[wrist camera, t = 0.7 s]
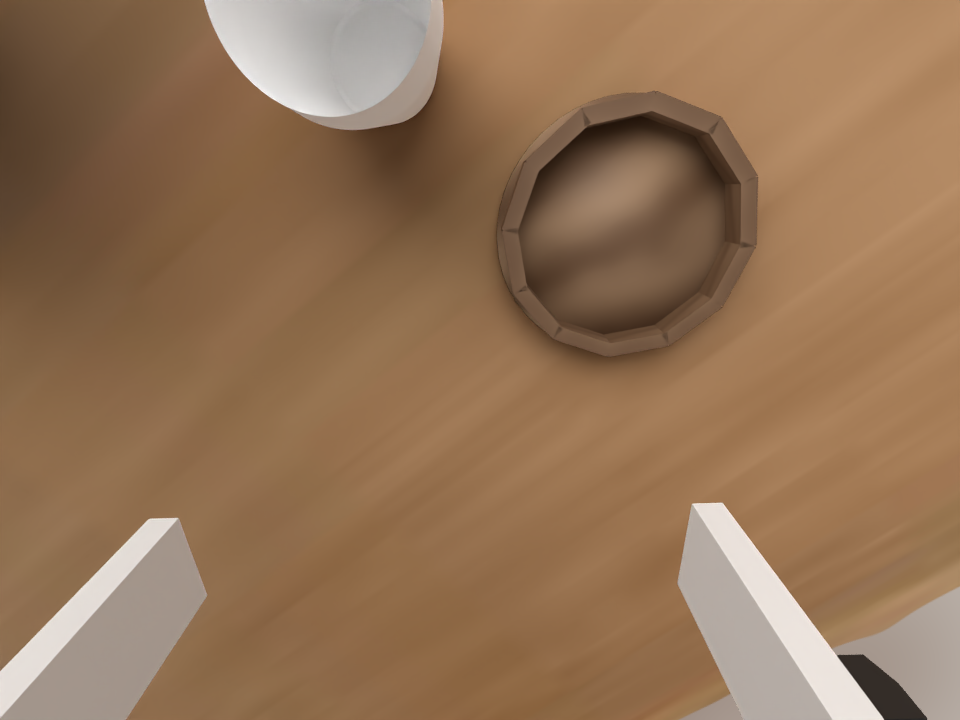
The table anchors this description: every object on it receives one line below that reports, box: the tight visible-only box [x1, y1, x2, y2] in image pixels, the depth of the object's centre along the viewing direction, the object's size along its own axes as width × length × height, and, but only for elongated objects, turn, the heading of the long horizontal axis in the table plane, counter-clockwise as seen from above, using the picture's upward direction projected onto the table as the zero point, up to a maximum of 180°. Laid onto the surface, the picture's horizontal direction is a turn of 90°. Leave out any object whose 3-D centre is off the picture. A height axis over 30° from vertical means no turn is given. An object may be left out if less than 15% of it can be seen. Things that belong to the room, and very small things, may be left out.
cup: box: [204, 0, 443, 130], centre depth 22 cm, size 9×9×12 cm
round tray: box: [497, 91, 758, 357], centre depth 30 cm, size 17×17×3 cm
